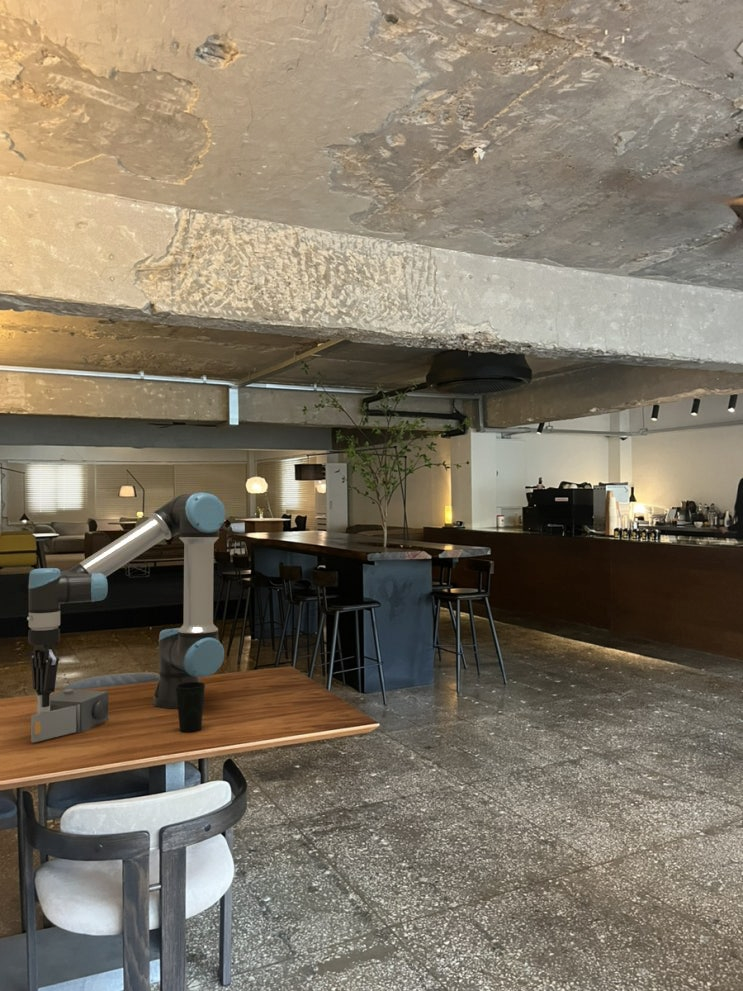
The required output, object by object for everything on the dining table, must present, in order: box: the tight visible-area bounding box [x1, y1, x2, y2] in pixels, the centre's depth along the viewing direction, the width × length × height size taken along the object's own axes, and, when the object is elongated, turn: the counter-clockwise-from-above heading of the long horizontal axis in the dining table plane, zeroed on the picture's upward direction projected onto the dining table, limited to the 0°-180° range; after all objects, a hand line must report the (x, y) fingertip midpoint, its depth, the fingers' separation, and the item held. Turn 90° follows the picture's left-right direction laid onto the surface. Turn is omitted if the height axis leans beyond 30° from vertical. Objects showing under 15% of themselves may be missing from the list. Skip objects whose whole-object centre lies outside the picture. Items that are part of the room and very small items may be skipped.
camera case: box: [50, 688, 109, 733], centre depth 201 cm, size 16×13×9 cm
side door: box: [30, 706, 77, 743], centre depth 188 cm, size 12×1×7 cm, turn 140°
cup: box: [176, 681, 206, 734], centre depth 195 cm, size 8×8×12 cm
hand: (43, 718), depth 187 cm, fingers closed
